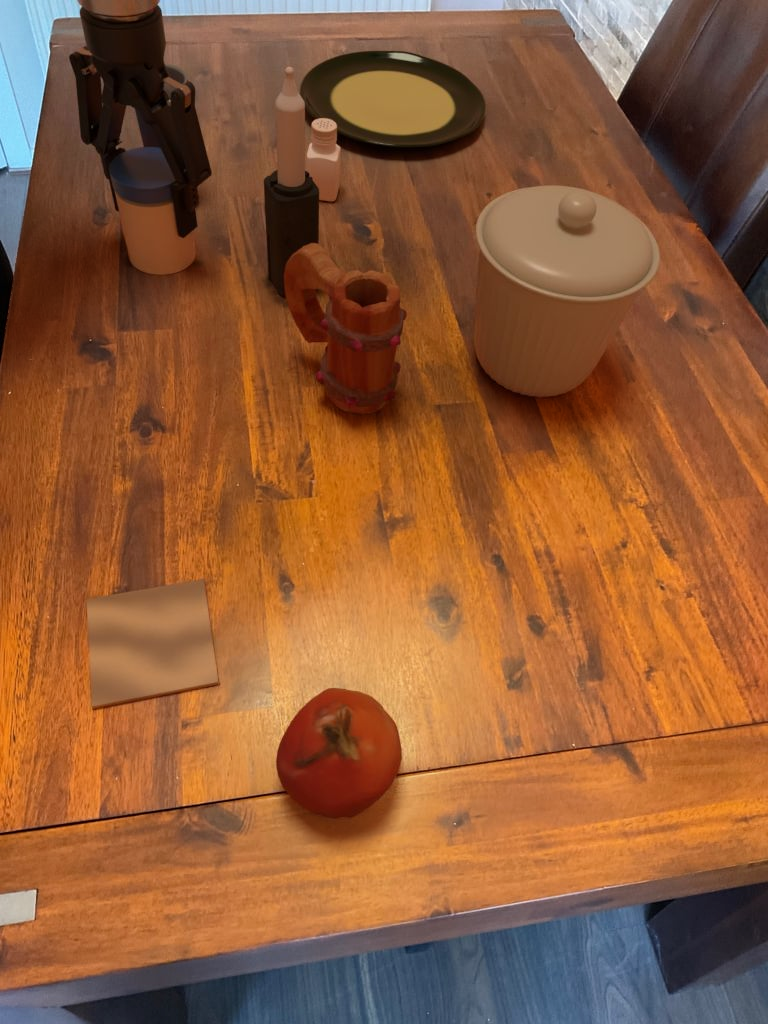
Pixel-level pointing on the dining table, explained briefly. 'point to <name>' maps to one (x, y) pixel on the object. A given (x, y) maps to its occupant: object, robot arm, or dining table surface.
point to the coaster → (150, 643)
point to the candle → (289, 187)
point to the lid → (142, 175)
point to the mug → (348, 327)
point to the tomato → (339, 754)
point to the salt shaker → (324, 158)
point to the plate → (393, 98)
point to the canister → (555, 284)
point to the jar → (154, 237)
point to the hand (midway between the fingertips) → (156, 218)
